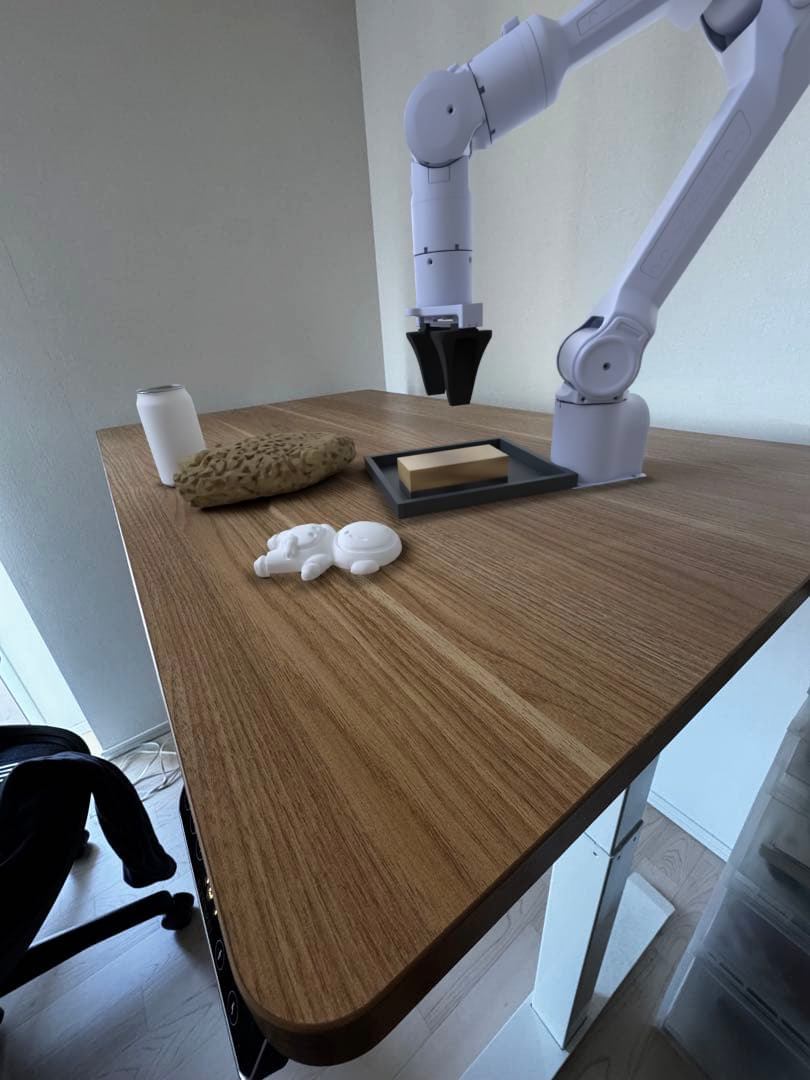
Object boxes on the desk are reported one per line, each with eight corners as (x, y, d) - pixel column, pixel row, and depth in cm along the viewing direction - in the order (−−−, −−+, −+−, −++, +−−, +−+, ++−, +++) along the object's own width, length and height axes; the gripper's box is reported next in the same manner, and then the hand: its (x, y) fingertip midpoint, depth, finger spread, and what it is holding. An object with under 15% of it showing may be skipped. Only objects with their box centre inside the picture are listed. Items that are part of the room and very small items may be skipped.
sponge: (189, 533, 48) (365, 474, 49) (155, 463, 46) (340, 402, 46) (222, 508, 61) (361, 461, 61) (197, 452, 58) (342, 404, 59)
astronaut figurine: (281, 537, 43) (274, 508, 41) (405, 533, 42) (403, 503, 40) (245, 588, 35) (235, 554, 34) (397, 585, 34) (393, 550, 32)
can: (218, 479, 60) (192, 386, 55) (166, 491, 57) (134, 394, 52) (207, 468, 65) (183, 382, 60) (159, 479, 62) (129, 389, 57)
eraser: (488, 473, 53) (489, 444, 52) (507, 486, 49) (509, 455, 47) (399, 487, 51) (397, 457, 49) (411, 502, 47) (409, 470, 45)
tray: (502, 451, 63) (502, 436, 62) (576, 492, 47) (578, 473, 47) (365, 471, 59) (363, 456, 58) (399, 524, 43) (397, 504, 43)
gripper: (386, 265, 49) (396, 394, 55) (426, 245, 36) (433, 415, 42) (447, 262, 50) (449, 387, 56) (506, 241, 38) (501, 406, 44)
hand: (446, 399), depth 50 cm, fingers open, 7 cm apart
